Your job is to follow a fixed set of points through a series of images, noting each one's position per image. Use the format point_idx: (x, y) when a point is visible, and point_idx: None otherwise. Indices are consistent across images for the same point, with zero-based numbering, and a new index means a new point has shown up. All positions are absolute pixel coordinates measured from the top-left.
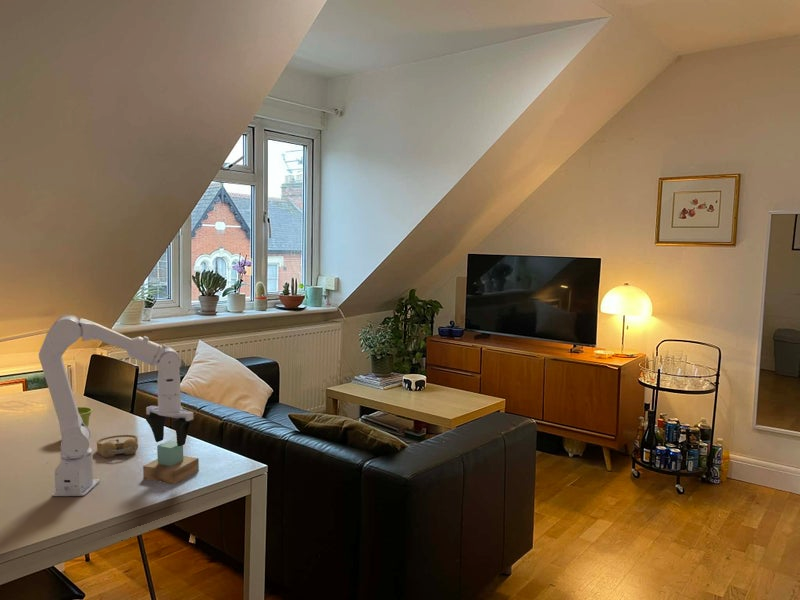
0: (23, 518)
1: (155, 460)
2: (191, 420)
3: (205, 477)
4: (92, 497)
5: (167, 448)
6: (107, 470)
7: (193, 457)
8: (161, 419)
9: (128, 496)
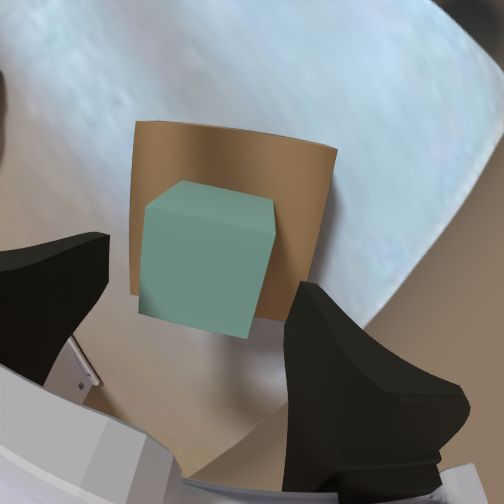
0: None
1: (133, 225)
2: (445, 435)
3: (381, 213)
4: (121, 385)
5: (221, 330)
6: (13, 225)
7: (304, 142)
8: (4, 328)
9: (200, 379)
